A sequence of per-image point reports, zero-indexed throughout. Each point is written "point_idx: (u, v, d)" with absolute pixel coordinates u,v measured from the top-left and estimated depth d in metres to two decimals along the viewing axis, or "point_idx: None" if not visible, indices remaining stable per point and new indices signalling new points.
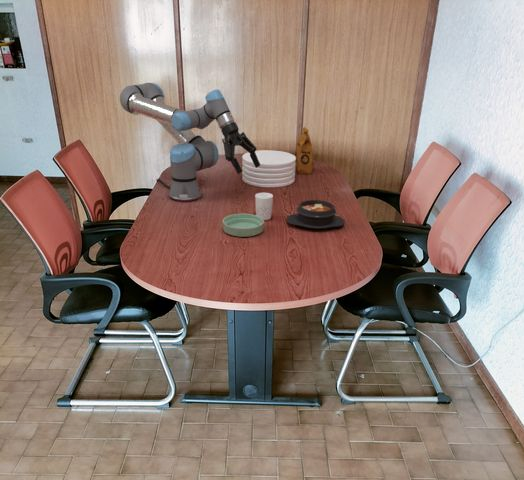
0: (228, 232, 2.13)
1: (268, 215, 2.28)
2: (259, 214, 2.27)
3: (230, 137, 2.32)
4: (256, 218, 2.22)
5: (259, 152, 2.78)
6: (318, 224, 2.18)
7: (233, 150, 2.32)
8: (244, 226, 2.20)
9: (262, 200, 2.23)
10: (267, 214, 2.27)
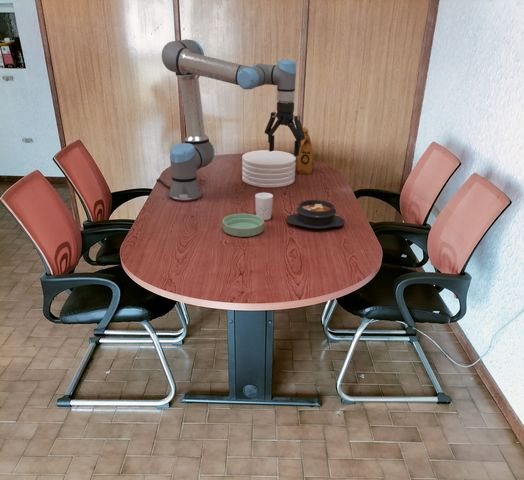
0: (228, 232, 2.13)
1: (268, 215, 2.28)
2: (259, 214, 2.27)
3: None
4: (256, 218, 2.22)
5: (259, 152, 2.78)
6: (318, 224, 2.18)
7: None
8: (244, 226, 2.20)
9: (262, 200, 2.23)
10: (267, 214, 2.27)
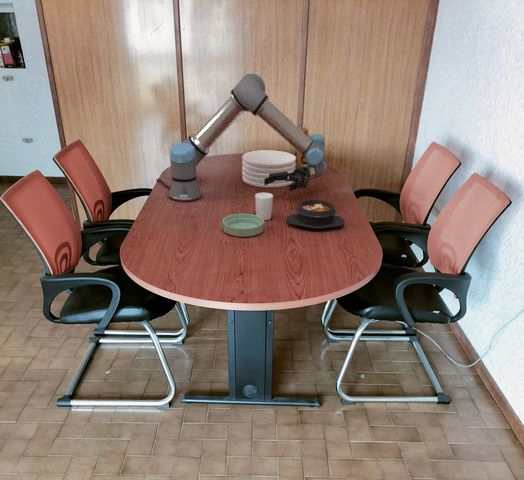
0: (228, 232, 2.13)
1: (268, 215, 2.28)
2: (259, 214, 2.27)
3: None
4: (256, 218, 2.22)
5: (259, 152, 2.78)
6: (318, 224, 2.18)
7: None
8: (244, 226, 2.20)
9: (262, 200, 2.23)
10: (267, 214, 2.27)
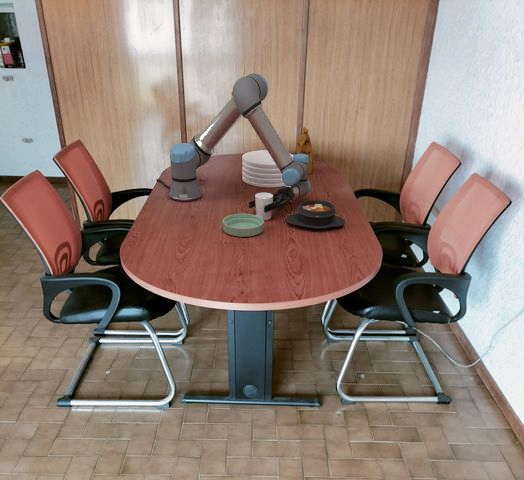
0: (228, 232, 2.13)
1: (268, 215, 2.28)
2: (259, 214, 2.27)
3: None
4: (256, 218, 2.22)
5: (259, 152, 2.78)
6: (318, 224, 2.18)
7: None
8: (244, 226, 2.20)
9: (262, 200, 2.23)
10: (267, 214, 2.27)
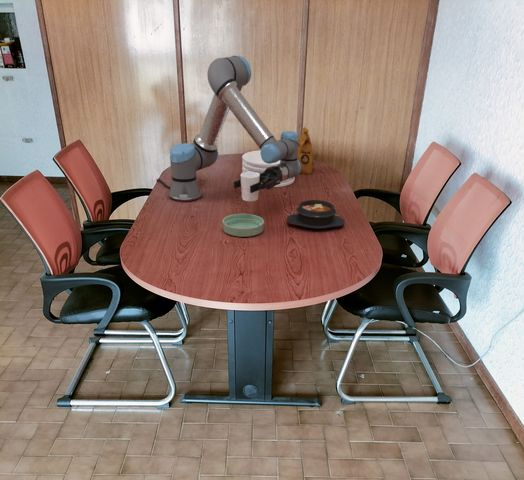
0: (228, 232, 2.13)
1: (255, 196, 2.12)
2: (245, 195, 2.12)
3: None
4: (256, 218, 2.22)
5: (259, 152, 2.78)
6: (318, 224, 2.18)
7: None
8: (244, 226, 2.20)
9: (247, 179, 2.07)
10: (254, 195, 2.12)
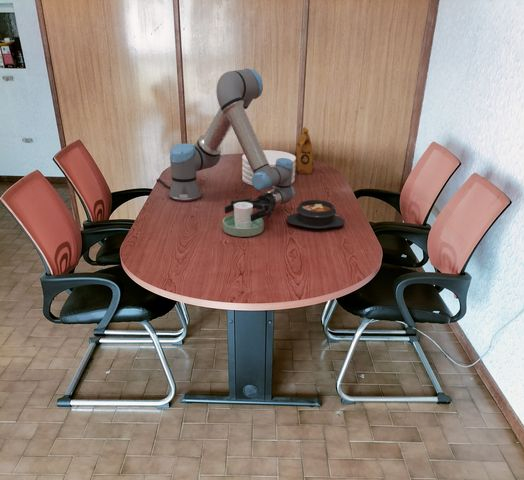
0: (228, 232, 2.13)
1: (248, 226, 2.15)
2: (238, 225, 2.15)
3: None
4: None
5: None
6: (318, 224, 2.18)
7: None
8: None
9: (240, 210, 2.10)
10: (247, 225, 2.15)
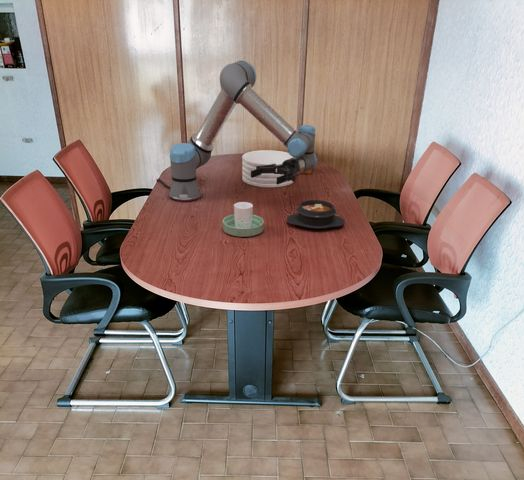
0: (228, 232, 2.13)
1: (248, 226, 2.15)
2: (238, 225, 2.15)
3: None
4: (256, 218, 2.22)
5: (259, 152, 2.78)
6: (318, 224, 2.18)
7: None
8: None
9: (240, 210, 2.10)
10: (247, 225, 2.15)
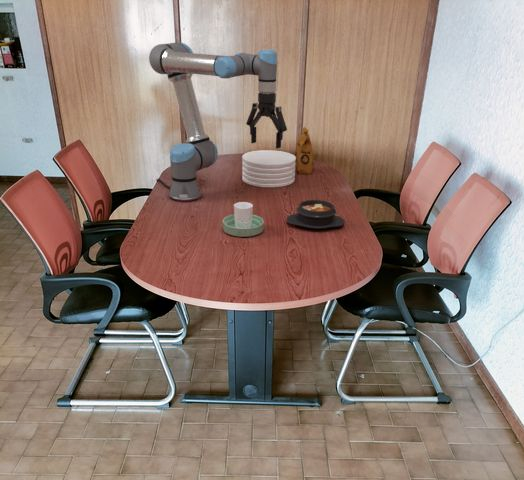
0: (228, 232, 2.13)
1: (248, 226, 2.15)
2: (238, 225, 2.15)
3: None
4: (256, 218, 2.22)
5: (259, 152, 2.78)
6: (318, 224, 2.18)
7: None
8: None
9: (240, 210, 2.10)
10: (247, 225, 2.15)
